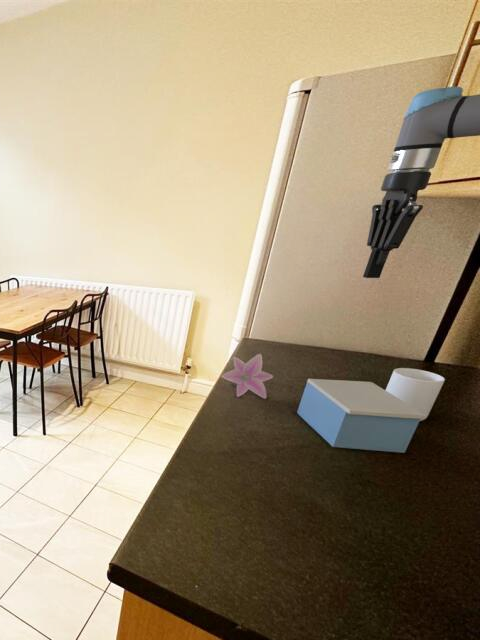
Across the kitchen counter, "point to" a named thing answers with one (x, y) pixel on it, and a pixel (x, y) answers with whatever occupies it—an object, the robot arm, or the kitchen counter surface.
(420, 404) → the cup
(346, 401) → the case lid
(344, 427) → the case
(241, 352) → the kitchen counter surface
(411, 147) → the robot arm
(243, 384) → the lily
